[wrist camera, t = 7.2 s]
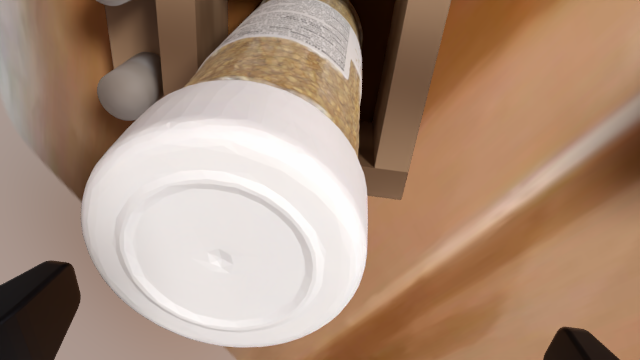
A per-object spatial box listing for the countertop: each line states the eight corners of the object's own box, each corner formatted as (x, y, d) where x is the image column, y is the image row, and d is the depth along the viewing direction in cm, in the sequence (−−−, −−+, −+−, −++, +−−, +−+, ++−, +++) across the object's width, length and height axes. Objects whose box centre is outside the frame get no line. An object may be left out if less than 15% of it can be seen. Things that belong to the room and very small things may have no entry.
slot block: (394, 150, 21) (401, 200, 17) (137, 116, 21) (93, 158, 17) (448, -89, 16) (472, -86, 12) (106, -133, 16) (36, -141, 12)
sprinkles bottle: (332, 106, 20) (293, 389, 8) (236, 60, 19) (49, 302, 8) (385, 9, 17) (429, 216, 6) (277, -48, 17) (97, 66, 5)
